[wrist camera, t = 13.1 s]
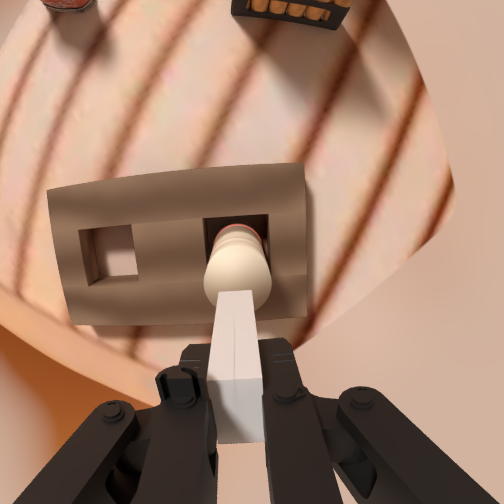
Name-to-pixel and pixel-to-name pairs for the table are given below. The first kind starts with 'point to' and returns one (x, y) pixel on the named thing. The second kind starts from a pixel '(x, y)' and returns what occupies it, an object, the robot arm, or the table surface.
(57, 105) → the table surface
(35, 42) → the table surface
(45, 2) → the lighter
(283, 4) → the ammunition clip
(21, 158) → the table surface
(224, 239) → the birch dowel
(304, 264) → the walnut board
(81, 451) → the robot arm
